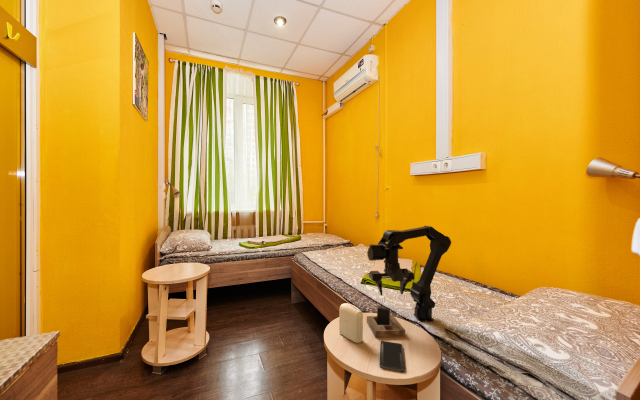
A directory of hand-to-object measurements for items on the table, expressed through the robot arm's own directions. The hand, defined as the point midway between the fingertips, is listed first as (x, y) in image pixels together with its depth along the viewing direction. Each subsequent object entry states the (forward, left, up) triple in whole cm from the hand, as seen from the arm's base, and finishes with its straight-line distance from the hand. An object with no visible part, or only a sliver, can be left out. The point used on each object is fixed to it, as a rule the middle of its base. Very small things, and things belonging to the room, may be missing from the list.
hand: (391, 294), depth 111 cm
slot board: (+5, +6, -12) cm, 14 cm away
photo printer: (+20, +11, -12) cm, 26 cm away
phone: (+9, +24, -12) cm, 28 cm away
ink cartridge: (+5, +4, -12) cm, 14 cm away
